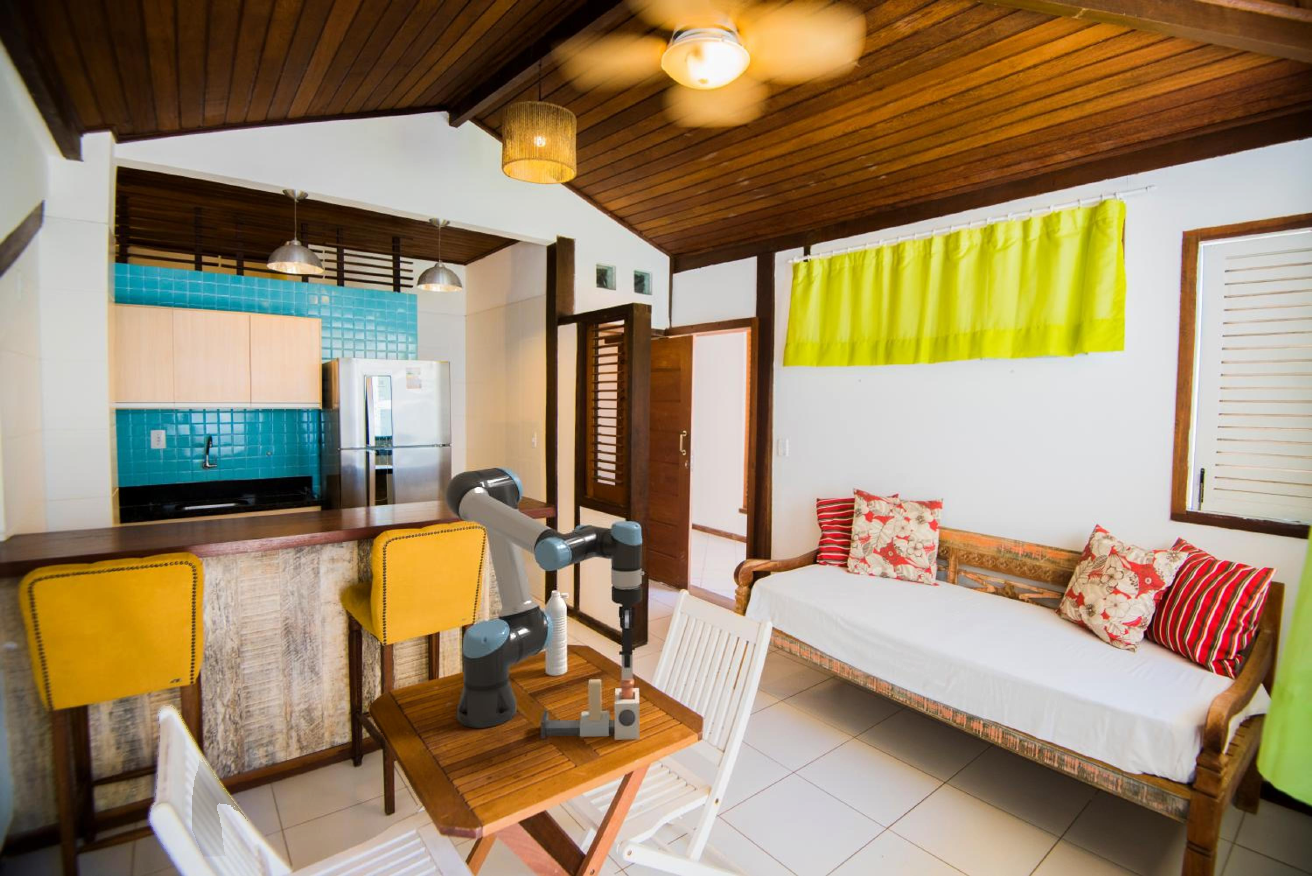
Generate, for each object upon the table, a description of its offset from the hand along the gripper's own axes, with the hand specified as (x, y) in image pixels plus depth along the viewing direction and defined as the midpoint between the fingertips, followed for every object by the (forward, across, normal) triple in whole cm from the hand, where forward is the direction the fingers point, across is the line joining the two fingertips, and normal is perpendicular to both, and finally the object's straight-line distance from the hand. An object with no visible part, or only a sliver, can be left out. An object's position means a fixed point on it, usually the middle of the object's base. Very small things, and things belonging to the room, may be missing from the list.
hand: (627, 678), depth 154 cm
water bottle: (+14, +34, +21) cm, 42 cm away
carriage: (+14, 0, +8) cm, 16 cm away
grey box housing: (+14, 0, 0) cm, 14 cm away
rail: (+14, 0, +11) cm, 17 cm away
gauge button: (+7, 0, 0) cm, 7 cm away
